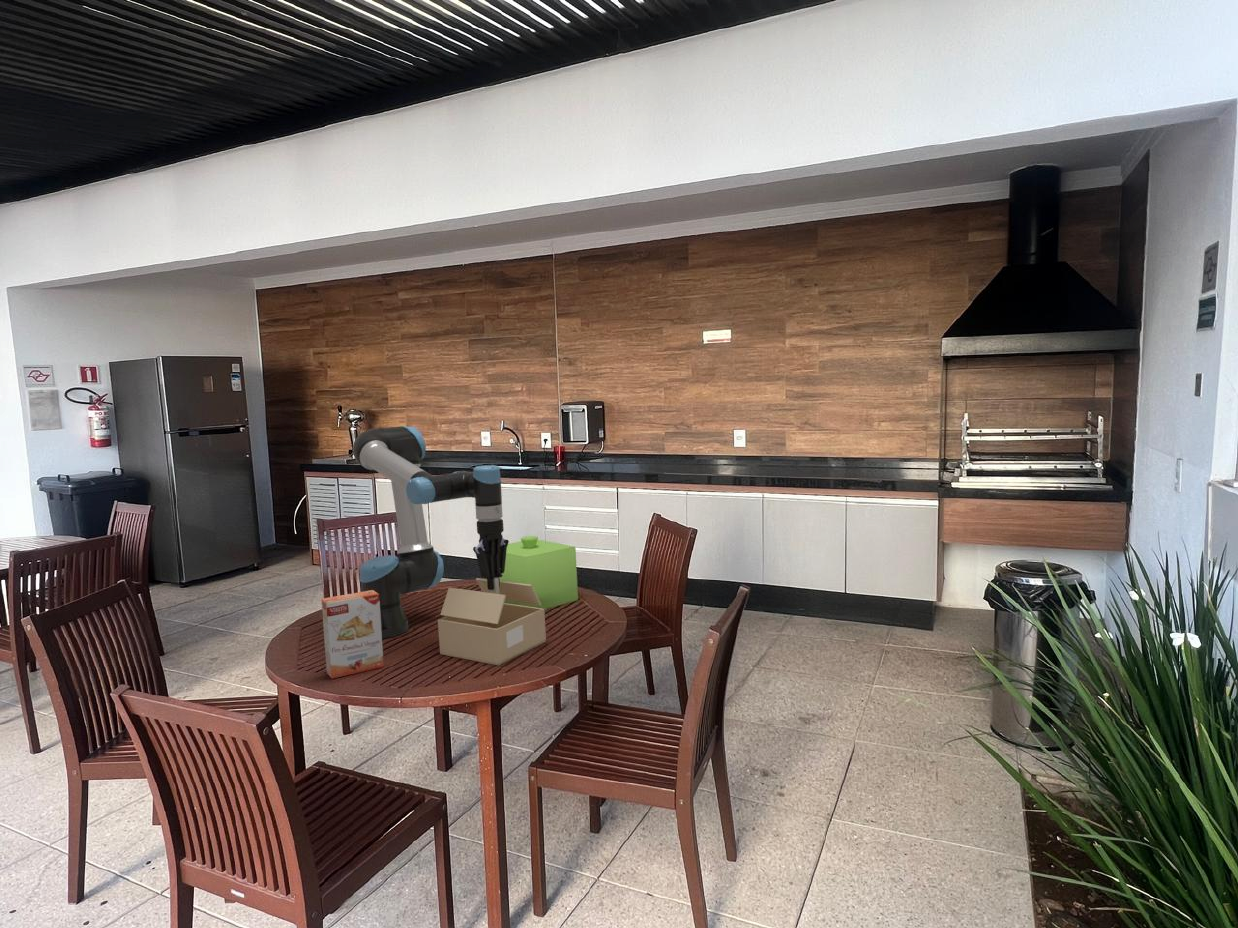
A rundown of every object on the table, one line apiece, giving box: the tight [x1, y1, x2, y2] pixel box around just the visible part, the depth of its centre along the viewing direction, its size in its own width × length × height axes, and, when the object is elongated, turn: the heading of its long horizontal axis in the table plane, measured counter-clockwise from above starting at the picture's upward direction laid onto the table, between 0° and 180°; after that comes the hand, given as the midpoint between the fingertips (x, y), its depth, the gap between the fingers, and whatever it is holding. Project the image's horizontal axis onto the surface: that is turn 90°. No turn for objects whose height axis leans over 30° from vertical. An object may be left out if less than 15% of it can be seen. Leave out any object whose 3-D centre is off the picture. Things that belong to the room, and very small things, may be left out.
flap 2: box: [475, 577, 541, 606], centre depth 219 cm, size 21×1×8 cm, turn 59°
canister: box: [499, 535, 579, 610], centre depth 262 cm, size 25×21×23 cm
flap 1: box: [440, 587, 506, 624], centre depth 206 cm, size 21×1×8 cm
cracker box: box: [321, 590, 384, 680], centre depth 199 cm, size 14×6×21 cm, turn 124°
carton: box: [437, 603, 547, 667], centre depth 213 cm, size 22×21×10 cm
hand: (494, 599), depth 214 cm, fingers closed
